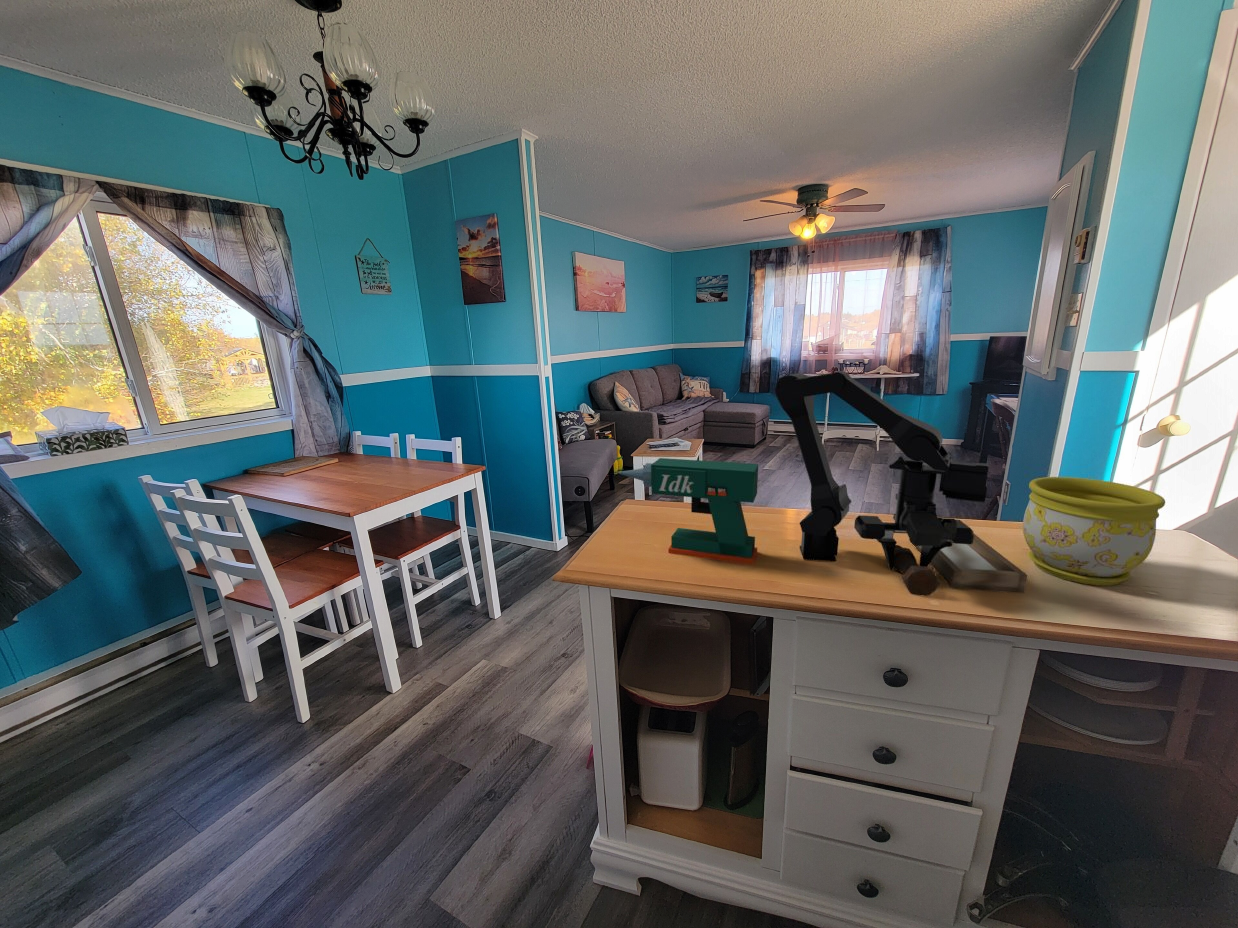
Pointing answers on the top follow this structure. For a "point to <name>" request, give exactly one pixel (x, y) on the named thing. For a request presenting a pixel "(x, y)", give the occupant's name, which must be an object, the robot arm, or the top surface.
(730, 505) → the power tool
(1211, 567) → the top surface
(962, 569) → the wooden tray
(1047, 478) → the flowerpot
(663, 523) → the top surface
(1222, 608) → the top surface
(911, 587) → the bolt
